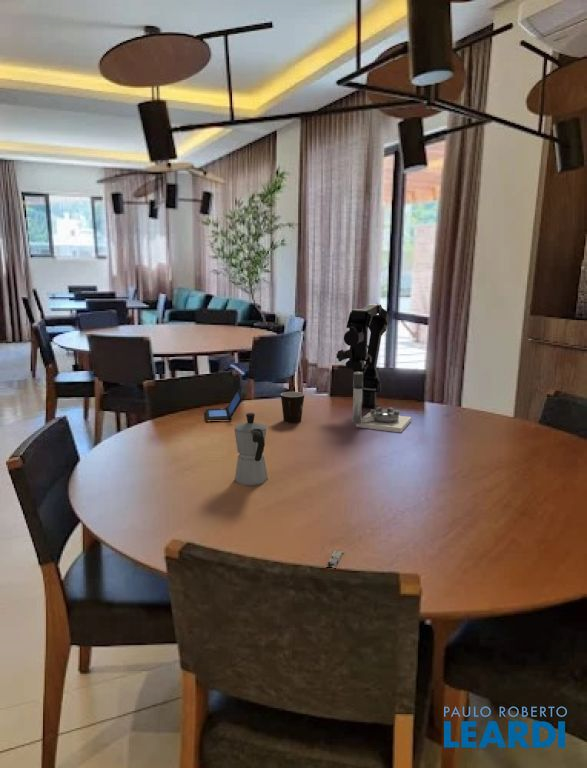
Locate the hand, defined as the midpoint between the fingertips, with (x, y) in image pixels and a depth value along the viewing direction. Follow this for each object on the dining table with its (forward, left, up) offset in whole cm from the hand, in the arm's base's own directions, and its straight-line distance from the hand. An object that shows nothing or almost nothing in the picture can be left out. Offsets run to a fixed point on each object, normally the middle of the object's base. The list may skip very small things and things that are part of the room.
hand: (358, 383), depth 206 cm
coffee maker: (+77, -4, -12) cm, 78 cm away
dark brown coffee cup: (+21, -19, -12) cm, 31 cm away
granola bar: (+105, +29, -13) cm, 110 cm away
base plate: (+9, +13, -12) cm, 20 cm away
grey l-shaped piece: (+12, +10, -10) cm, 19 cm away
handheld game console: (+25, -45, -12) cm, 53 cm away
